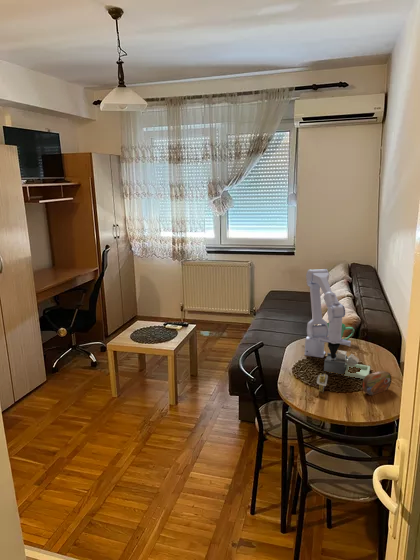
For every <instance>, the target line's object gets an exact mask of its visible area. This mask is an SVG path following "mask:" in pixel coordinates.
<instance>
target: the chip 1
mask: <svg viewBox="0 0 420 560" xmlns="http://www.w3.org/2000/svg"><path fill="white" fill-rule="evenodd" d="M347 352H348V351H345V350H341V349H340V350H339V349H338V350H337V352H336V361H342V362H345V361H346V356H347Z"/></svg>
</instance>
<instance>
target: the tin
mask: <svg viewBox="0 0 420 560" xmlns="http://www.w3.org/2000/svg"><path fill="white" fill-rule="evenodd" d="M391 383H392V375H391V373H390V372H388V371H385V370H378V371H376V372H372V373H369V374H368V375H367V376H366V377H365V378H364V379H363V380H362V383H361V384H362V385H361V386H362V391H363V392H364V393H365V394H368V395H369V396H374V395H377V394H379V393H382V392H386V391H387V390H388V389H389V388H390V386H391Z"/></svg>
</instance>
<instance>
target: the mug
mask: <svg viewBox="0 0 420 560" xmlns="http://www.w3.org/2000/svg"><path fill="white" fill-rule="evenodd" d="M327 325H328V328H329V322H327ZM346 330H347V331H348V330H351V334H349V335H348V336H347V337H345V338H343V336H344V332H345V331H346ZM354 333H355V329H354V327H353V326H346V324H344V323H343V322H342V330H341V339H344V340H348V341H349V339H351V338H352V337H353V336H354Z"/></svg>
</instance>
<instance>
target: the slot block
mask: <svg viewBox="0 0 420 560" xmlns="http://www.w3.org/2000/svg"><path fill="white" fill-rule="evenodd" d="M326 354H327V355H326V358H325V359H324V365H323V372H324V371H327V372H334V373H338V374H344V373H345V370H346V367H347V364H346V363H345V362H346V361H345V362H342V361H336V354H335V358H334V359H332V358H331V353H330V352H327V353H326ZM347 358H348V355H346V359H347ZM338 374H337V375H338ZM344 375H345V374H344Z"/></svg>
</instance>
